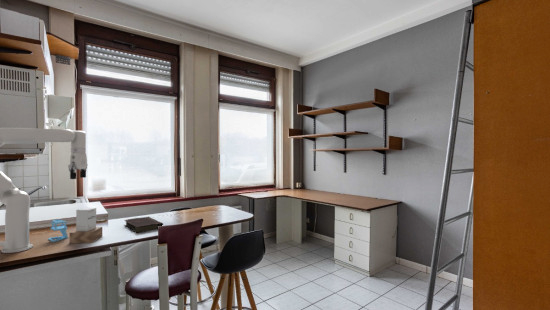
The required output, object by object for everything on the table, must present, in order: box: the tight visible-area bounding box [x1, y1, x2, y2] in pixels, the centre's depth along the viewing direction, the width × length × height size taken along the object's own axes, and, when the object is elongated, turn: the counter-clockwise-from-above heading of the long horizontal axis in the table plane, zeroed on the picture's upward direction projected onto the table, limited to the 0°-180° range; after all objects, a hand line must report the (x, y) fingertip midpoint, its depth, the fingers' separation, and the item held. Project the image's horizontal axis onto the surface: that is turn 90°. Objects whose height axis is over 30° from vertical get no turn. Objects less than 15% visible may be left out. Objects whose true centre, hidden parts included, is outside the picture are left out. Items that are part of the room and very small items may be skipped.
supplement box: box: [75, 207, 97, 231], centre depth 167 cm, size 7×7×13 cm
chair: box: [47, 219, 69, 243], centre depth 168 cm, size 8×8×12 cm
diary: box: [123, 216, 164, 234], centre depth 196 cm, size 19×25×5 cm
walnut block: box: [68, 226, 103, 244], centre depth 167 cm, size 12×12×6 cm
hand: (78, 178), depth 173 cm, fingers open, 9 cm apart
